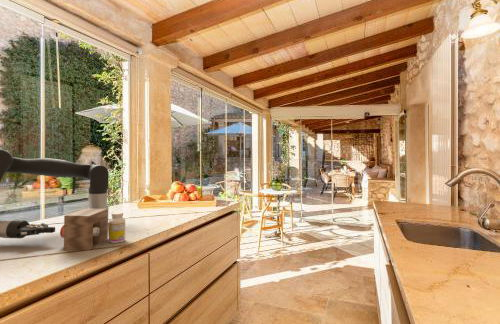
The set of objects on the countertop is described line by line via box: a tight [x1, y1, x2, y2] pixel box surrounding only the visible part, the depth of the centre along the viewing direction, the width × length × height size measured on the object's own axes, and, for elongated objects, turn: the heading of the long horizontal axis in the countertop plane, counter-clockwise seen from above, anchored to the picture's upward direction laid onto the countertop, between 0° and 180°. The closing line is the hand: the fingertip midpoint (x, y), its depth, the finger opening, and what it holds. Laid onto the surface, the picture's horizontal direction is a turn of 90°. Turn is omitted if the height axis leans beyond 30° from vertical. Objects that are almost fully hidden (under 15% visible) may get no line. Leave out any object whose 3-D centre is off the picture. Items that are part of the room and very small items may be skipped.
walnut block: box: [63, 207, 109, 251], centre depth 122 cm, size 12×16×14 cm
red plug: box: [59, 224, 100, 239], centre depth 120 cm, size 14×6×6 cm, turn 92°
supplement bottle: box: [108, 211, 126, 244], centre depth 127 cm, size 7×7×13 cm
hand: (54, 229), depth 120 cm, fingers closed
